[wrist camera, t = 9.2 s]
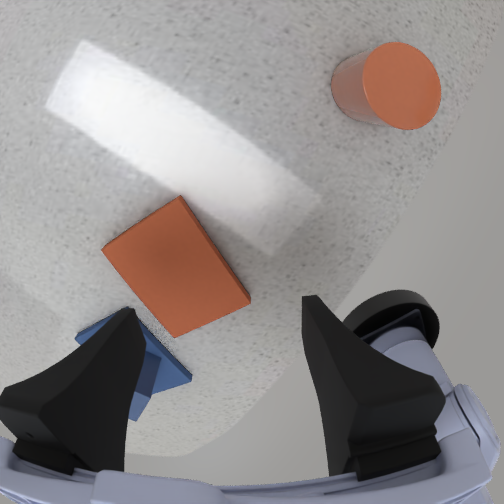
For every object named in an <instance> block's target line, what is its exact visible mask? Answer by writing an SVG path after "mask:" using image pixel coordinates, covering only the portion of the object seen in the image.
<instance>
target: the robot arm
mask: <svg viewBox="0 0 504 504" xmlns="http://www.w3.org/2000/svg"><path fill="white" fill-rule="evenodd" d="M302 339H303V345H304V351H305V356H306V359H307V362H308V366H309V369H310V373H311V376H312V379H313V383H314V386H315V389H316V393H317V396H318V400H319V404H320V411H321V417H322V423H323V429H324V436H325V444H326V452H327V460H328V469H329V477H325V478H318V479H312V480H304V481H296V482H288V483H276V484H265V485H242V486H213V485H212V484H208V483H205V482H201V481H197V480H189V479H181V478H168V477H157V476H148V475H140V474H132V473H126V472H124V457H125V441H126V431H127V423H128V417H129V411H130V406H131V402H132V399H133V395H134V392H135V389H136V386H137V382H138V379H139V376H140V373H141V369H142V366H143V363H144V357H145V351H146V345H147V342H146V340H145V337H144V334H143V332H142V329H141V326H140V324H139V321H138V318H137V315H136V312H135V309H134V308H129V309H121V310H120V311H119V312H117V313H116V314H115V315H114V316H113V317H112V318H111V319H110V320H108V321H107V322H106V323H105V324H104V325H103V326H102V327H101V328H100V329H99V330H98V331H97V332H96V333H94V334H93V335H92V336H91V337H90V338H89V339H88V340H86V341H85V342H84V343H83V344H82V345H81V346H80V347H78V348H77V349H76V350H75V351H73V352H72V353H71V354H69V355H68V356H67V357H65V358H64V359H62V360H61V361H59V362H58V363H56V364H55V365H53V366H51V367H50V368H48V369H46V370H45V371H43V372H41V373H39V374H37V375H35V376H33V377H31V378H29V379H26V380H24V381H22V382H19V383H16V384H13V385H11V386H8V387H5V388H4V390H3V392H2V394H1V396H0V420H1V421H2V423H3V424H4V425H5V426H6V427H7V428H8V429H9V430H10V431H11V432H12V433H13V434H14V435H15V436H16V437H17V441H16V443H14V442H12V441H11V440H9V439H6V438H4V437H2V436H0V493H2V494H3V495H4V496H6V497H7V498H9V499H10V500H12V501H14V502H16V503H18V504H494V503H493V500H492V498H491V496H490V494H489V492H488V490H487V487H486V484H487V483H488V482H489V481H490V480H492V475H491V472H492V470H493V468H494V466H495V464H496V462H497V460H498V458H499V455H500V445H501V443H500V440H499V438H498V436H497V434H496V432H495V429H494V426H493V424H492V422H491V419H490V417H489V415H488V414H487V412H486V410H485V408H484V407H483V405H482V403H481V402H480V400H479V399H478V397H477V396H476V394H475V393H474V392H473V390H472V389H471V388H470V387H469V386H468V385H462V384H458V385H457V386H455V387H453V385H452V383H451V381H450V379H449V378H448V376H447V374H446V373H445V371H444V369H443V367H442V366H441V364H440V362H439V361H438V359H437V357H436V356H435V354H434V352H433V351H432V349H431V347H430V346H429V344H428V343H427V339H426V335H425V330H424V325H423V321H422V316H421V312H420V311H419V309H414V310H413V311H411V312H409V313H407V314H405V315H404V316H402V317H400V318H398V319H396V320H394V321H392V322H391V323H389V324H387V325H385V326H383V327H381V328H379V329H377V330H375V331H373V332H371V333H369V334H367V335H365V336H363V337H361V338H359V337H357V336H356V335H355V334H354V333H353V332H352V331H351V330H349V329H348V328H347V327H346V326H345V325H344V324H343V323H342V322H341V321H340V320H339V319H338V318H337V317H336V316H335V315H334V314H333V313H332V312H331V310H330V309H329V308H328V307H327V306H326V305H325V304H324V303H323V301H322V300H321V299H320V298H319V297H318V296H317V295H311V296H302Z"/></svg>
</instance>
